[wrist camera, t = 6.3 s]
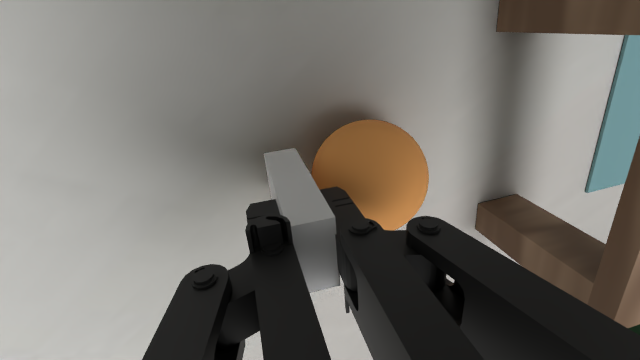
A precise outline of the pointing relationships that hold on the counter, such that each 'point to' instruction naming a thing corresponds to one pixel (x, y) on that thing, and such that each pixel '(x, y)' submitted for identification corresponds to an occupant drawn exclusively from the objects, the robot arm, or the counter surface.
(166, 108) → the counter surface
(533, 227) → the bridge
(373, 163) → the ball
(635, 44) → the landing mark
